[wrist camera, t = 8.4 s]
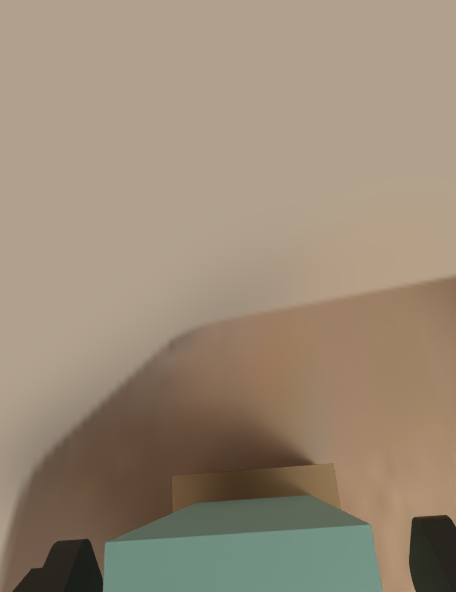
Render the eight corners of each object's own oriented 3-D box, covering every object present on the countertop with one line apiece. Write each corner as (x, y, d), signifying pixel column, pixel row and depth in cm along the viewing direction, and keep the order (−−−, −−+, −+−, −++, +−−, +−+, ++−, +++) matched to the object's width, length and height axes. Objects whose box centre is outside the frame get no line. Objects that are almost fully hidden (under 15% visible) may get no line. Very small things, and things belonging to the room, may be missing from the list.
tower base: (316, 465, 22) (333, 463, 16) (337, 615, 19) (366, 672, 14) (195, 474, 22) (171, 475, 17) (200, 623, 20) (174, 682, 14)
